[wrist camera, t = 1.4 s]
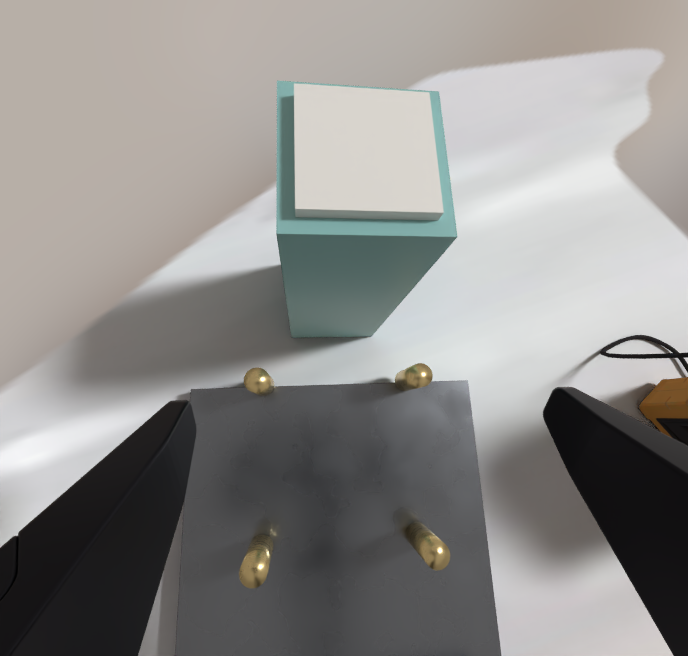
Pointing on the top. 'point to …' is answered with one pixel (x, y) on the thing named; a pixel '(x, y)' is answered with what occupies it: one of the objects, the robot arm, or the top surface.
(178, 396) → the top surface
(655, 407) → the multimeter
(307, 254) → the plate
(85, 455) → the top surface
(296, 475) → the plate
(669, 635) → the robot arm
